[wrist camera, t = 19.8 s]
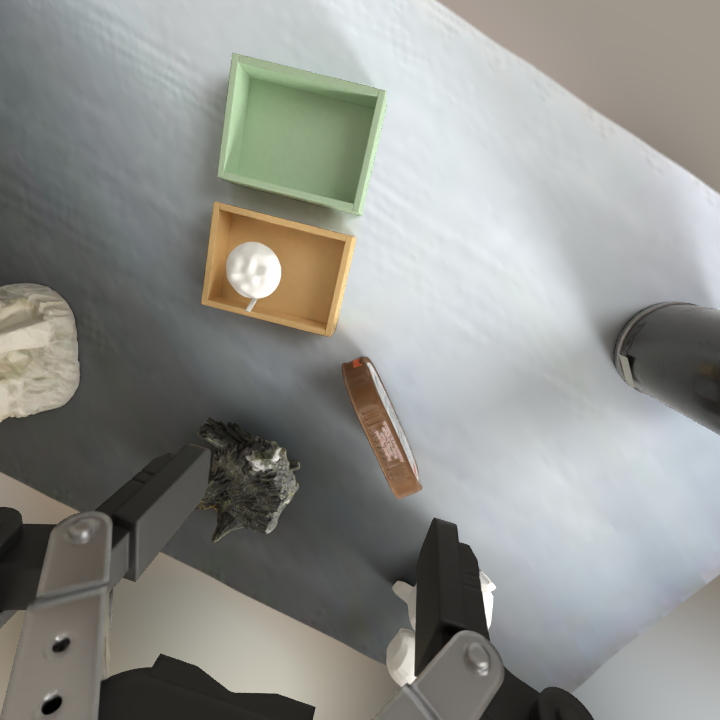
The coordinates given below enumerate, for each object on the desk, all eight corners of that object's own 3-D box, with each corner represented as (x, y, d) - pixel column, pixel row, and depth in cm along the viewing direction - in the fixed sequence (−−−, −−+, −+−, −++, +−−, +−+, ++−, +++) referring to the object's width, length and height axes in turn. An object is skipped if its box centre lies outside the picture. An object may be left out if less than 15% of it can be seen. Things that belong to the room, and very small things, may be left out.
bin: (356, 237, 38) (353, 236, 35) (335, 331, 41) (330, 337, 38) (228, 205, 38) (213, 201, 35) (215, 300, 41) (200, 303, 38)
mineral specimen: (164, 414, 39) (167, 495, 32) (287, 391, 44) (314, 457, 37) (186, 501, 48) (193, 580, 41) (287, 474, 53) (309, 540, 46)
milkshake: (261, 297, 40) (219, 311, 31) (258, 244, 39) (213, 240, 29) (304, 298, 40) (275, 312, 30) (302, 244, 38) (271, 241, 29)
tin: (344, 355, 41) (332, 379, 33) (371, 344, 41) (365, 366, 33) (397, 471, 45) (397, 519, 36) (422, 462, 44) (429, 509, 36)
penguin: (432, 529, 50) (360, 628, 48) (459, 561, 41) (373, 683, 40) (481, 566, 51) (412, 665, 49) (517, 606, 42) (435, 727, 40)
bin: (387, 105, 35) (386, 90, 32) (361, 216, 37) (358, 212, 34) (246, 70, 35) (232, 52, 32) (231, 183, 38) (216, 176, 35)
